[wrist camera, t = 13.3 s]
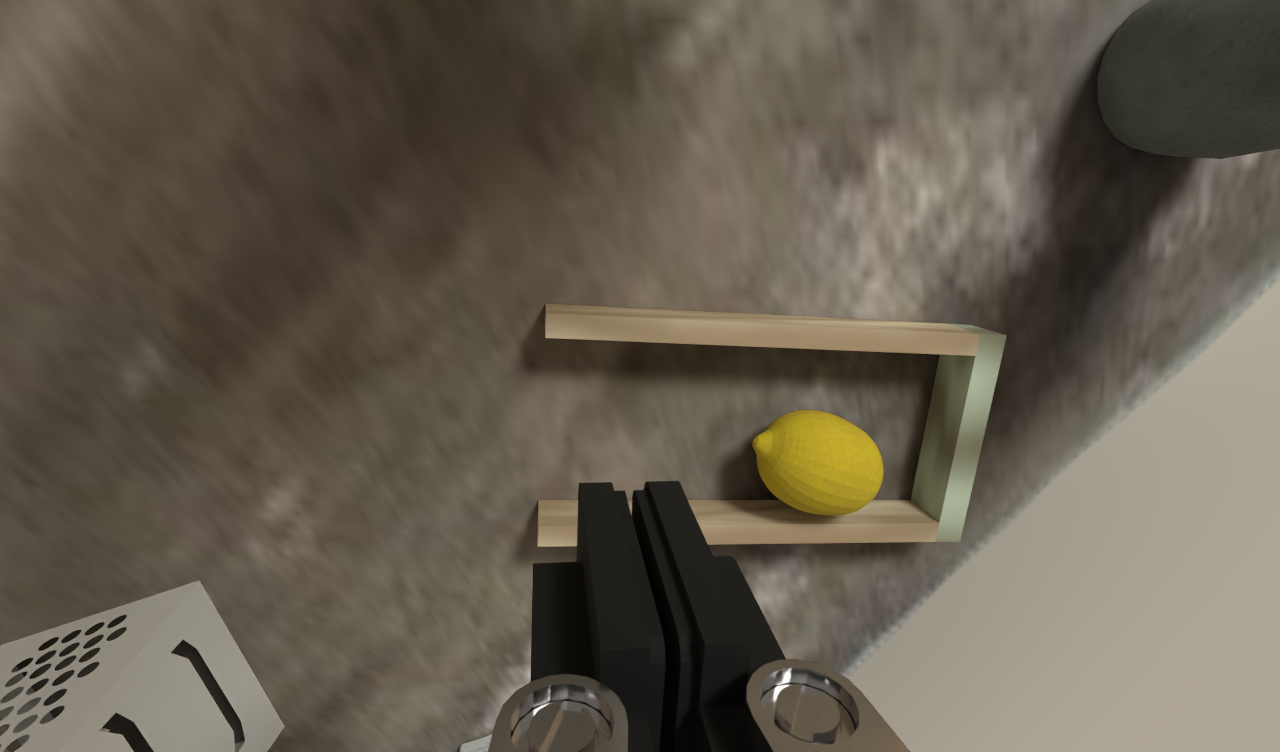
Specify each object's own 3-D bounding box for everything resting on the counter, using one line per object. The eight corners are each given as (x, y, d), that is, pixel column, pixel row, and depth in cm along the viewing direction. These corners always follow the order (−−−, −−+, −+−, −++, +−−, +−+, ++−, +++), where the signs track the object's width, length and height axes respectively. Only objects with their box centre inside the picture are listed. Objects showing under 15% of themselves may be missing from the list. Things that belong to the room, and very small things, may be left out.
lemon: (736, 513, 33) (864, 551, 35) (791, 438, 30) (927, 485, 32) (723, 442, 38) (837, 480, 39) (770, 372, 35) (891, 416, 37)
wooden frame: (545, 303, 33) (546, 313, 30) (970, 324, 37) (1007, 335, 34) (537, 519, 36) (537, 546, 33) (930, 517, 40) (960, 541, 37)
